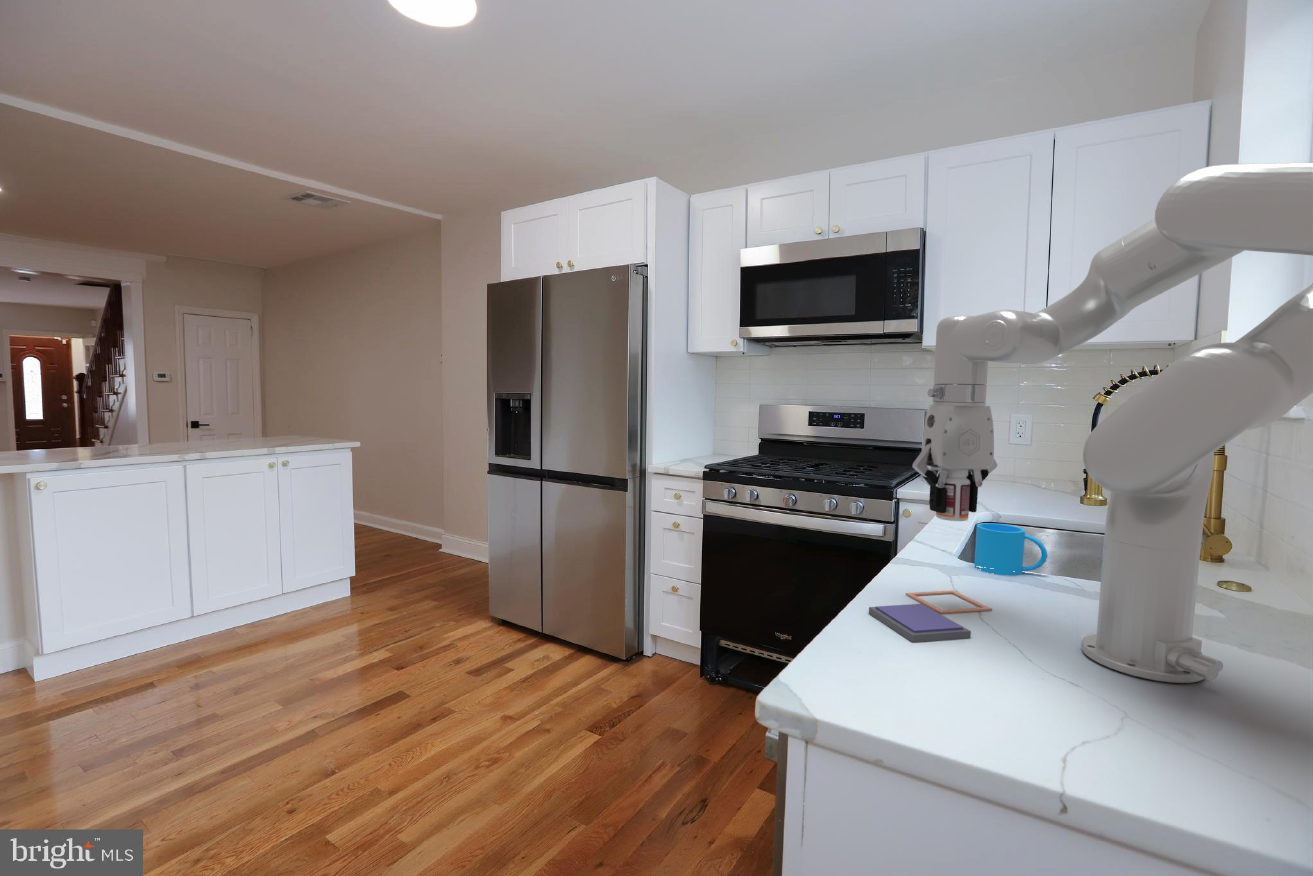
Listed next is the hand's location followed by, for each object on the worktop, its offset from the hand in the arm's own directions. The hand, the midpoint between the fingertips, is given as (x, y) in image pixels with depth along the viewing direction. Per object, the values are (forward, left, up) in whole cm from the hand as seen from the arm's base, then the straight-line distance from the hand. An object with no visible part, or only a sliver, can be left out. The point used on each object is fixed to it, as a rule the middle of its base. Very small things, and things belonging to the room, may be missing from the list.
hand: (952, 510), depth 100 cm
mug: (+14, -24, -15) cm, 32 cm away
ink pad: (-8, +11, -15) cm, 20 cm away
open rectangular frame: (0, 0, -15) cm, 15 cm away
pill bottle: (0, 0, -2) cm, 2 cm away
